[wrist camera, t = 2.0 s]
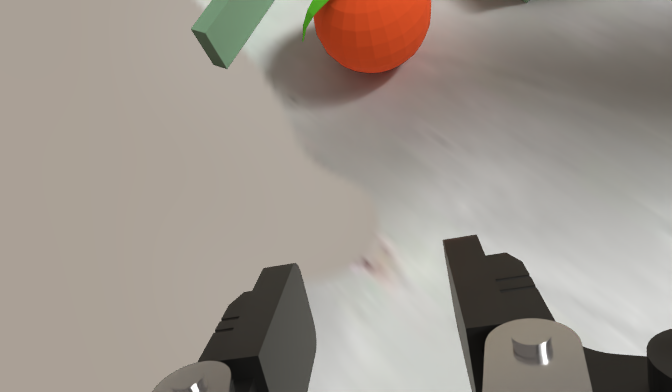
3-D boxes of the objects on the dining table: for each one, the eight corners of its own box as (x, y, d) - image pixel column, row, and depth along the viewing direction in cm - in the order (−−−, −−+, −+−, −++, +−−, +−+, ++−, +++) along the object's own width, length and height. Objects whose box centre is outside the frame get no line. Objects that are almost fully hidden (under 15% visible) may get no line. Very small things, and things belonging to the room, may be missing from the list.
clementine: (349, 125, 32) (322, 45, 26) (295, 58, 36) (259, -27, 29) (457, 55, 33) (455, -40, 27) (394, -4, 36) (379, -101, 30)
